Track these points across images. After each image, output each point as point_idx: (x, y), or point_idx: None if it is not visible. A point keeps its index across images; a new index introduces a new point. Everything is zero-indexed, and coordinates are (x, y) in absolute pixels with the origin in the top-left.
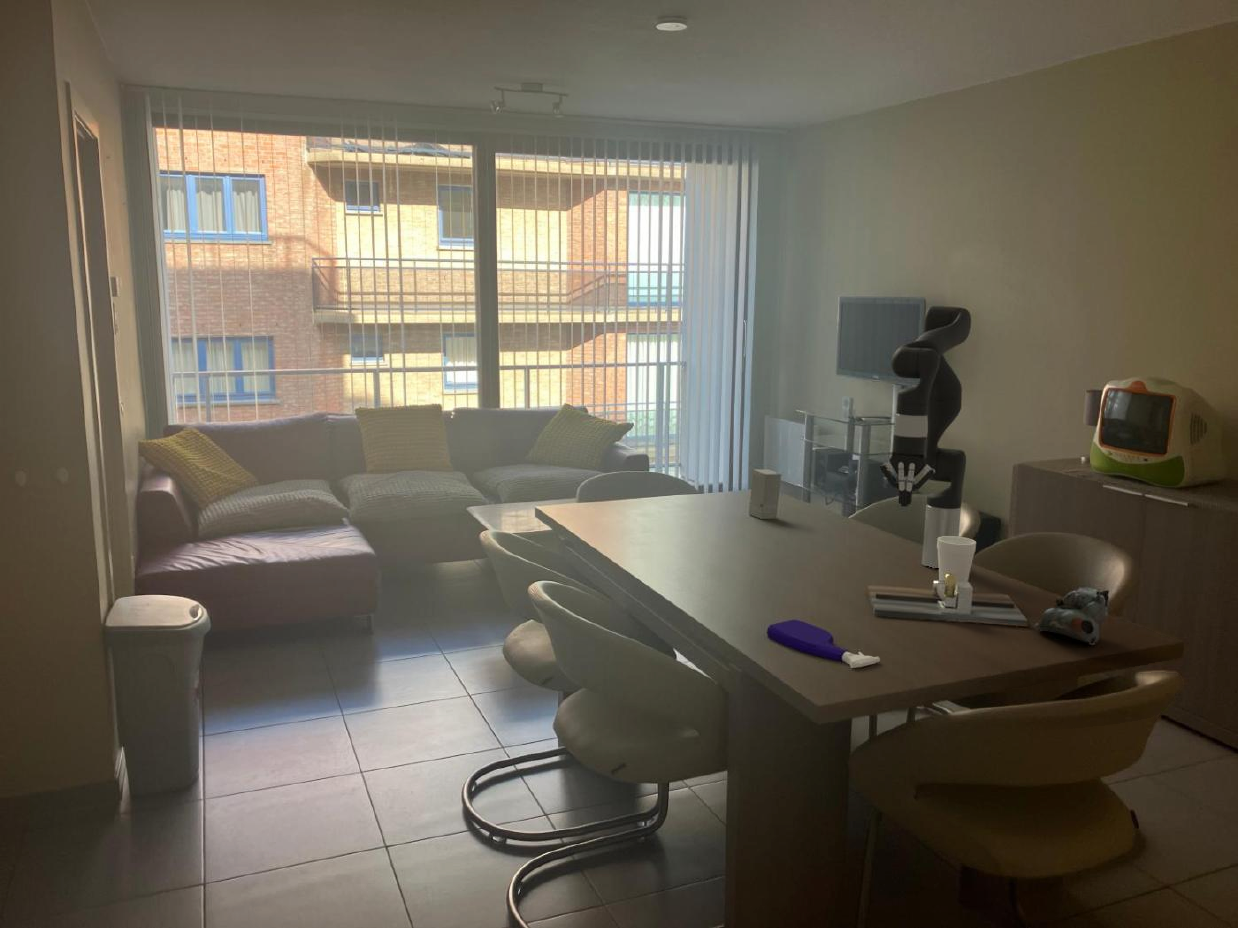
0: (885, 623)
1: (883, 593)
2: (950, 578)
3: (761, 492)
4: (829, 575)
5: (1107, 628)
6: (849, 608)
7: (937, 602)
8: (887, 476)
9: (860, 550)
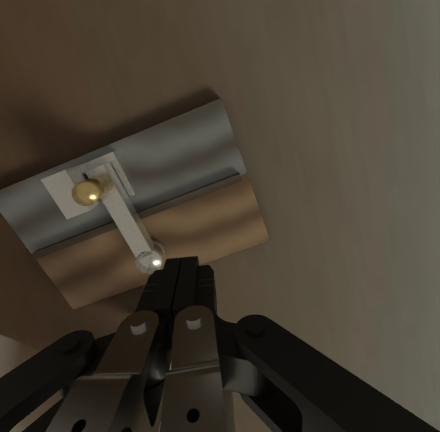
0: (190, 61)
1: (235, 208)
2: (82, 182)
3: None
4: (338, 279)
5: None
6: (271, 117)
7: (135, 192)
8: (348, 389)
9: None
